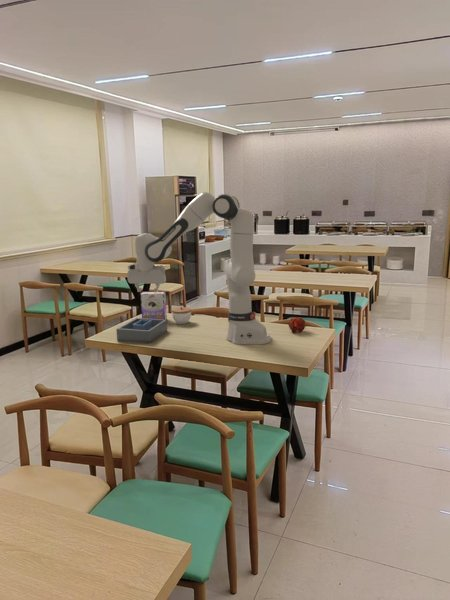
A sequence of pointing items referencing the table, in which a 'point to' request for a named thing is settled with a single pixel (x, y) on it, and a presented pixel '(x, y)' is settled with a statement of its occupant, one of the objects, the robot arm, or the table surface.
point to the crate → (141, 331)
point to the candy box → (153, 305)
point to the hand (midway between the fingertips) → (147, 291)
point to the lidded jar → (181, 315)
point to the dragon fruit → (297, 324)
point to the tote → (143, 325)
